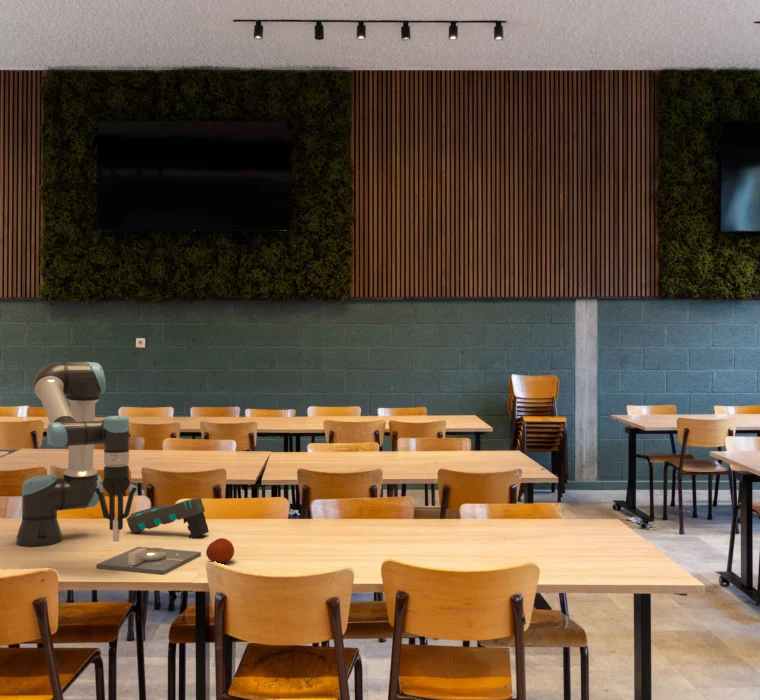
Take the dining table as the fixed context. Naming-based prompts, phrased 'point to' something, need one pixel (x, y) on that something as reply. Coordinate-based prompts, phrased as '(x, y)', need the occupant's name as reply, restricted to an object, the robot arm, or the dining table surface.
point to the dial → (146, 555)
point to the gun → (171, 517)
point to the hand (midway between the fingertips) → (116, 539)
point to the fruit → (220, 550)
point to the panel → (156, 567)
